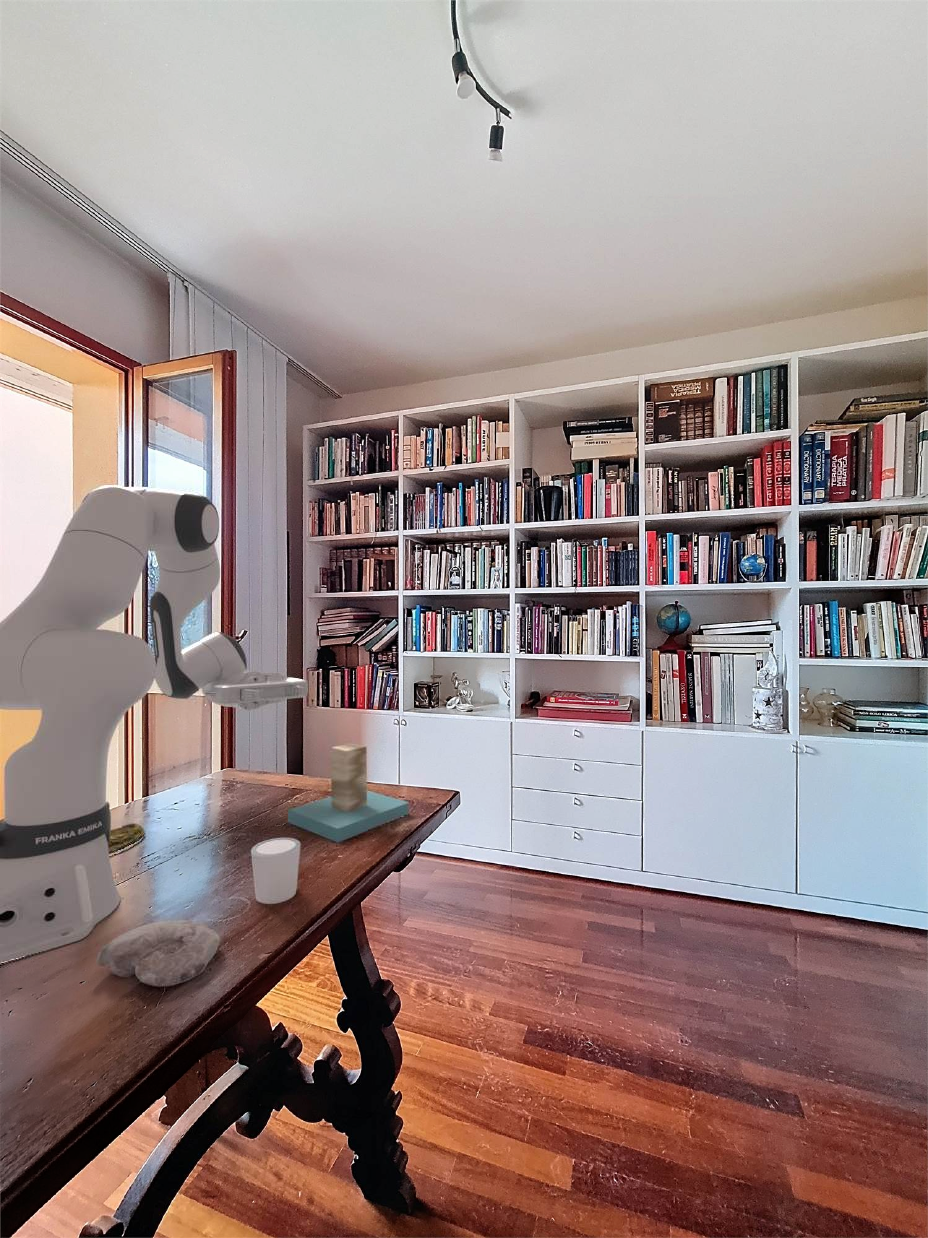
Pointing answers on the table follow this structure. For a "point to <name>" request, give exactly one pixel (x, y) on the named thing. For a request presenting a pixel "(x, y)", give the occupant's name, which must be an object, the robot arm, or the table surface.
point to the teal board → (346, 816)
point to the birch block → (349, 777)
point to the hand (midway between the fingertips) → (281, 693)
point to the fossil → (161, 952)
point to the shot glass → (275, 869)
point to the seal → (124, 837)
